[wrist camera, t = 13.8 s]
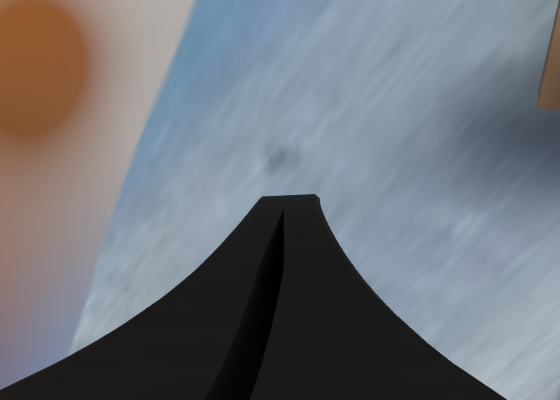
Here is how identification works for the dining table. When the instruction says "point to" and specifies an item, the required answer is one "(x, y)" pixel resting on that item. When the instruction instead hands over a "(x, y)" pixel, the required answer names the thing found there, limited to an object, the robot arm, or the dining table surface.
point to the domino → (551, 71)
